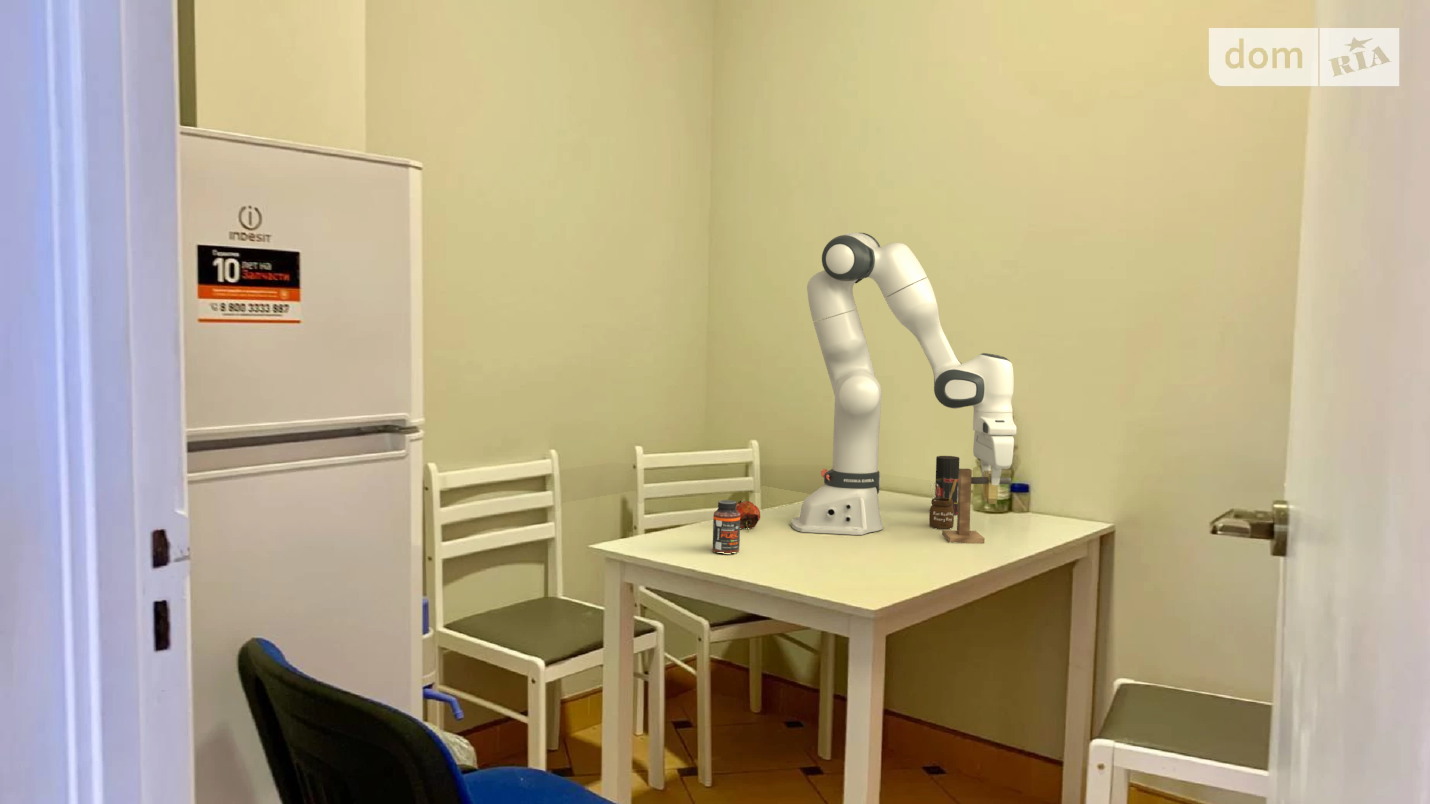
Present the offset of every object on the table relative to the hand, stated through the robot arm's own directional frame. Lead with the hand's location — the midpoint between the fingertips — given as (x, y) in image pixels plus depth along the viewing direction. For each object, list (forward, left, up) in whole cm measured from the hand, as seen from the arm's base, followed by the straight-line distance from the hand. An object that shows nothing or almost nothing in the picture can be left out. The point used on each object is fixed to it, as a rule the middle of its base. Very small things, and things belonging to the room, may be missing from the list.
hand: (990, 482), depth 240 cm
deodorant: (-3, +30, -14) cm, 33 cm away
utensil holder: (-8, +13, -14) cm, 21 cm away
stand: (-3, 0, -14) cm, 14 cm away
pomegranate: (-57, +8, -14) cm, 59 cm away
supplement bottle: (-62, -15, -14) cm, 65 cm away
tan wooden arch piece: (0, 0, -5) cm, 5 cm away
